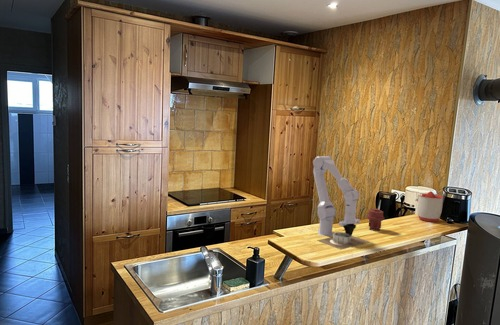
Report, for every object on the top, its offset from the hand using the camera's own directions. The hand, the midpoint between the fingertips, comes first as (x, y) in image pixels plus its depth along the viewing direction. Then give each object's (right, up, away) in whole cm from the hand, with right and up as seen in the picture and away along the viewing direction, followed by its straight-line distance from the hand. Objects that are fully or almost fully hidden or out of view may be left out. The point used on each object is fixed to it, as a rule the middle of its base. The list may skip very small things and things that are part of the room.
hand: (348, 237), depth 196 cm
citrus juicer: (+69, 0, +57) cm, 89 cm away
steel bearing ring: (-5, -2, -4) cm, 6 cm away
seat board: (-3, -2, -2) cm, 4 cm away
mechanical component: (+23, -1, +27) cm, 35 cm away
